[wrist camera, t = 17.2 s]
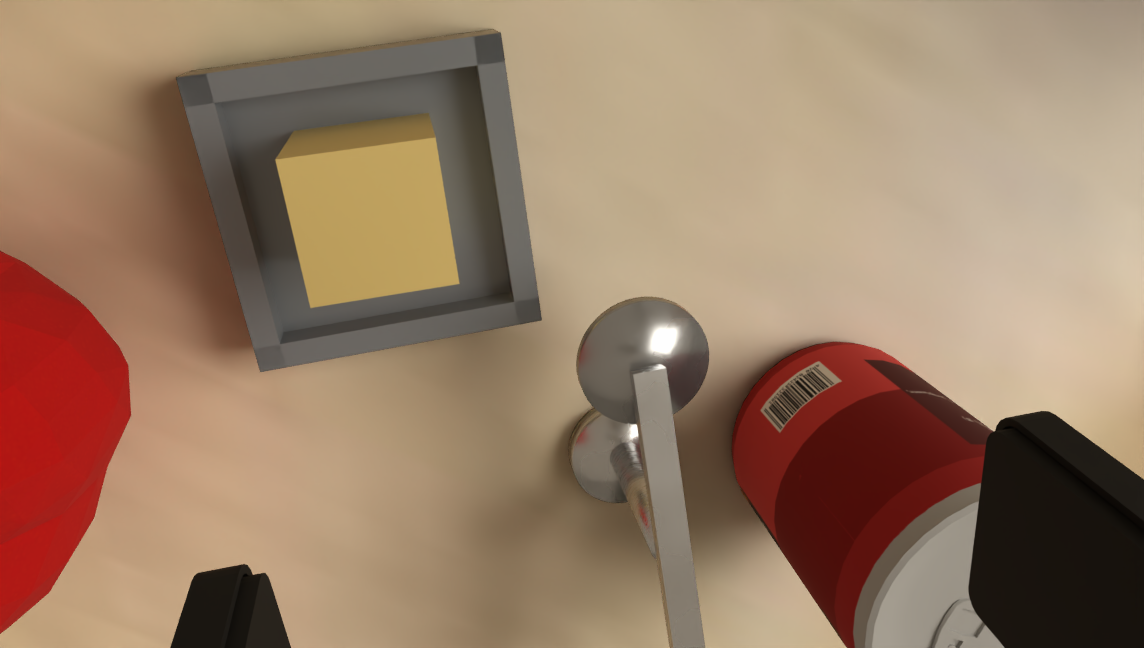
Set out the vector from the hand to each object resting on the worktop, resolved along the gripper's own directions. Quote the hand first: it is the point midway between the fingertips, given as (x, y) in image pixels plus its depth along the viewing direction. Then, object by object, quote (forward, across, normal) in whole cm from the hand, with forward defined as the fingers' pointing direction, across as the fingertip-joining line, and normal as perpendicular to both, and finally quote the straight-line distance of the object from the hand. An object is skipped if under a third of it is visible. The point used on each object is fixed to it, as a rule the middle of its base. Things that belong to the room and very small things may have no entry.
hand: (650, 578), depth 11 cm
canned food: (+19, -11, +12) cm, 25 cm away
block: (+18, +4, -1) cm, 19 cm away
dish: (+19, +4, 0) cm, 20 cm away
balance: (+19, -3, +11) cm, 22 cm away
